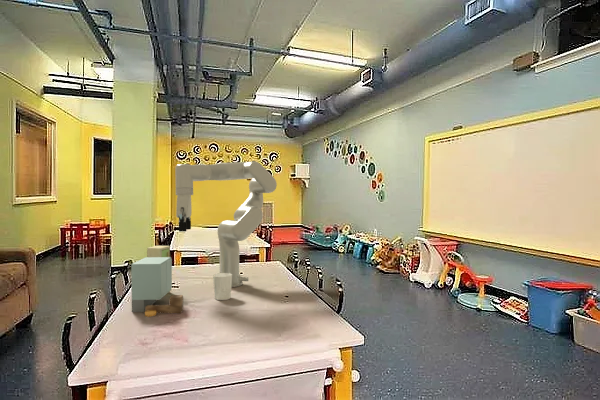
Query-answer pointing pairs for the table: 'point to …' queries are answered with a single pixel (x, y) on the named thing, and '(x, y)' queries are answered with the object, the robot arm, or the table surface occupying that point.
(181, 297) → the brown boxy piece
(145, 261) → the cabinet
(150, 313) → the orange round disc
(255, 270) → the table surface
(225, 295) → the white cup
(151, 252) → the toy refrigerator
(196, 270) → the table surface
